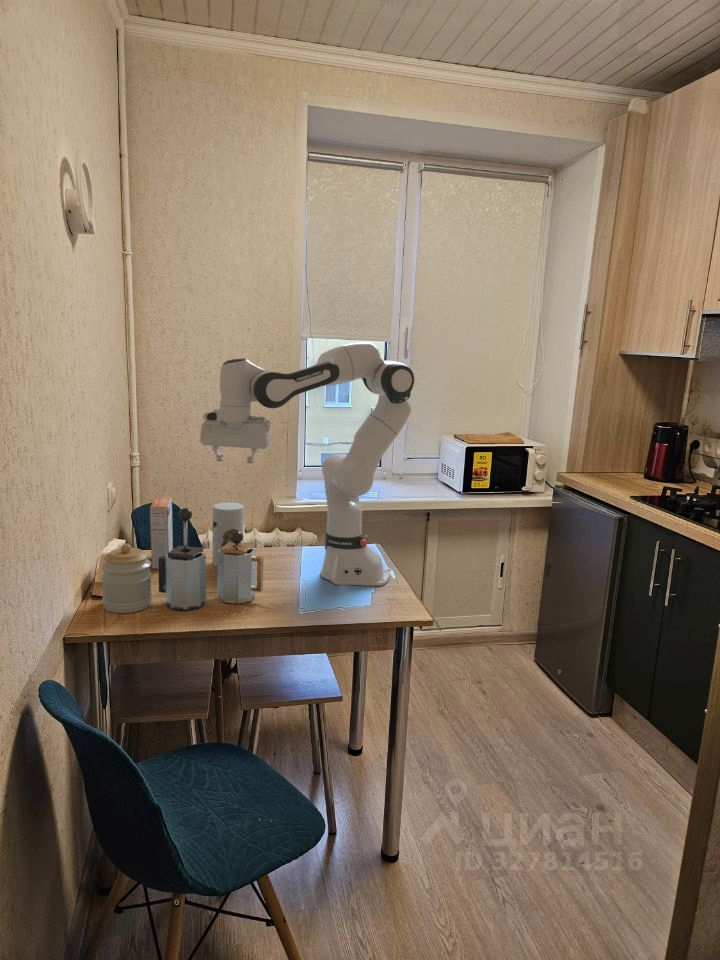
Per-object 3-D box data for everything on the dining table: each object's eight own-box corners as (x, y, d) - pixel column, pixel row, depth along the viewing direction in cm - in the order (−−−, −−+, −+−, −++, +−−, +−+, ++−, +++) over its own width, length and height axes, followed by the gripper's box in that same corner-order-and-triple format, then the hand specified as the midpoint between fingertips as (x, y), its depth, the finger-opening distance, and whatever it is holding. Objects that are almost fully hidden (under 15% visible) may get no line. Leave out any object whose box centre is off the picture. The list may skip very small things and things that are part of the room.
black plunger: (204, 564, 188) (203, 506, 184) (193, 573, 180) (192, 512, 177) (178, 562, 189) (178, 503, 185) (166, 570, 181) (166, 510, 178)
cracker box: (155, 555, 226) (154, 496, 222) (173, 555, 227) (172, 496, 223) (150, 569, 213) (149, 506, 209) (169, 569, 214) (168, 506, 210)
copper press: (266, 594, 197) (267, 543, 193) (255, 607, 186) (256, 554, 183) (225, 589, 198) (226, 539, 195) (212, 602, 188) (212, 549, 185)
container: (211, 559, 225) (211, 502, 221) (240, 558, 228) (241, 501, 224) (214, 569, 216) (214, 509, 212) (244, 567, 219) (245, 508, 215)
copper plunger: (253, 585, 195) (254, 529, 192) (244, 594, 188) (245, 536, 184) (228, 582, 196) (229, 526, 193) (219, 591, 189) (219, 533, 186)
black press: (210, 598, 191) (210, 546, 188) (196, 612, 181) (195, 557, 178) (168, 594, 193) (168, 542, 190) (152, 607, 183) (151, 553, 180)
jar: (158, 597, 190) (157, 538, 187) (142, 615, 178) (141, 552, 174) (113, 595, 191) (111, 536, 187) (94, 612, 178) (92, 549, 174)
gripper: (272, 415, 194) (272, 462, 197) (206, 412, 197) (206, 458, 200) (266, 418, 188) (266, 466, 191) (198, 414, 191) (198, 461, 193)
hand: (235, 461), depth 195 cm, fingers open, 8 cm apart
